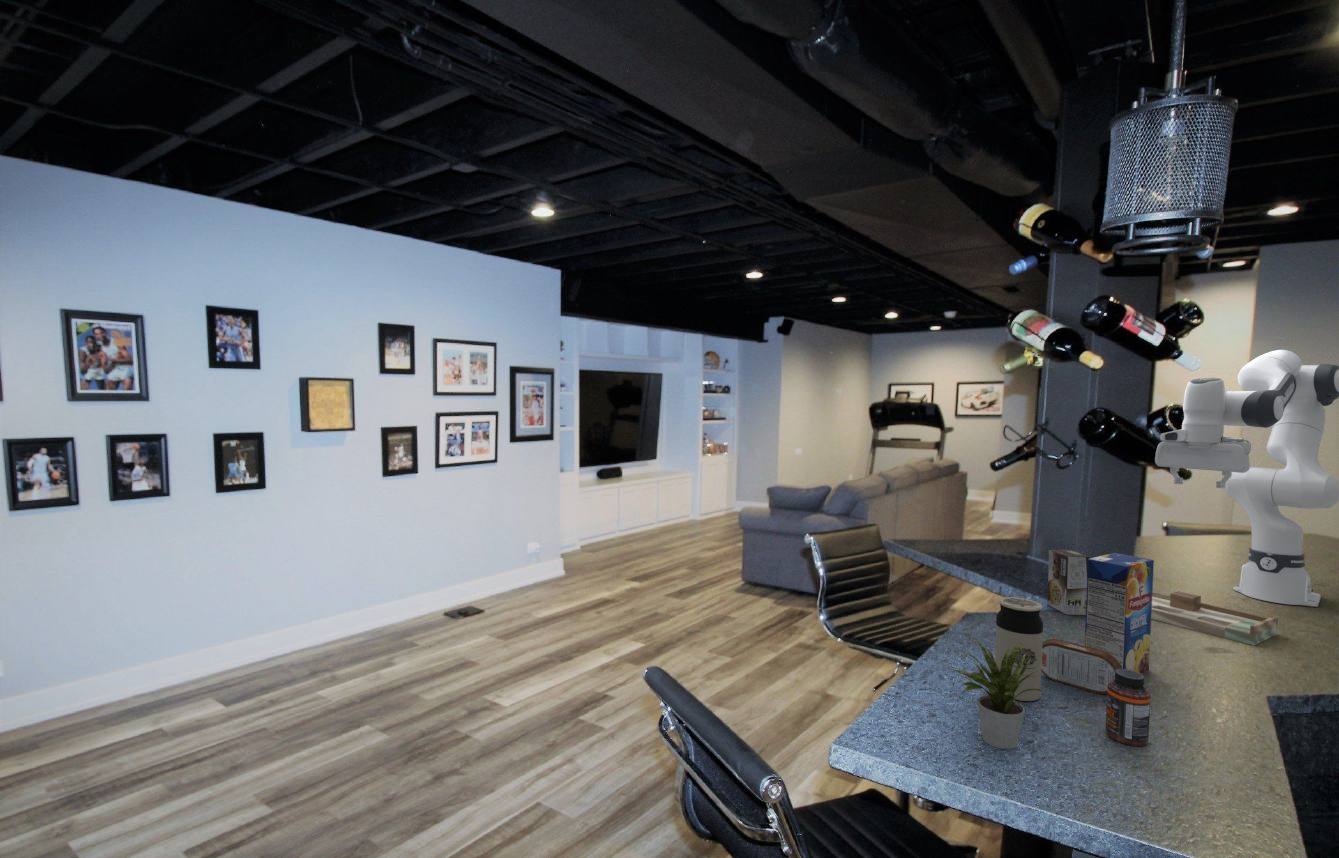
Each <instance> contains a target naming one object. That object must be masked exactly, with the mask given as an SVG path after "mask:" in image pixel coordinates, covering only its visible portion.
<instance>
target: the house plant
mask: <svg viewBox="0 0 1339 858" xmlns="http://www.w3.org/2000/svg"><path fill="white" fill-rule="evenodd" d="M972 640H974V642H976V644H977V645H978V646H979V648H980V649H981V651H982V653H983V656H984V659H985V662H986V664H987V665H988V668H989V669H988V668H987V667H986V666H984V665H983V664H982V662H980V660H979V659H977V658H976V657H975V656H974V655H972V654H970V653H969V652H966V651H963V650H958V649H954V648H952V650H953V651H954V650H955V651H958V652H960V653H962V654H963V653H964V654H965V655H962V654H960V655H961V656H962V657H965V658H968V659H970V660H972V659H971V658H973V659H974V661H973V664H974V666H975V667H976V669H977V670H978V671H973V672H968V671H965V670H958V669H954V671H955V672H956V673H958V674H959V675H958V674H957V676H958V677H962V678H964V679H967V680H968V681H966V682H964V683H962V684H961V686H959V687H962V686H966V687H965V689H964V690H963V693H965V691H970V690H977V689H979V690H980V691H981V692H982V693H983V694H984V695H980V696H979V697H977V700H976V701H977V707H978V708H977V709H978V715H979V724H980V731H981V739H982V740H983V741H984V742H985V743H986V744H988V745H990V746H992V747H994V748H997V749H1002V750H1012V749H1015V748H1017V745H1018V741H1019V737H1020V732H1021V728H1022V724H1023V720H1024V716H1025V712H1026V710H1025V707H1024V706H1023V705H1022V703H1021V701H1020V702H1018V701H1017V700H1014V699H1015V698H1016V697H1017V696H1018V695H1019V694H1021V693H1023V692H1025V691H1030V690H1038V691H1041V693H1044V691H1043V690H1042V689H1041V690H1040V689H1035V688H1034V689H1027V690H1024V691H1022V692H1020V693H1019V694H1018V695H1017V696H1016V697H1015V698H1014V693H1015V691H1016V690H1017V689H1018V688H1019V685H1020V683H1021V682H1022V681H1023V680H1025V679H1026V678H1028V677H1029V676H1030V675H1031V674H1033V673H1035V672H1033V673H1030V674H1029V675H1027V676H1026V677H1024V678H1023V679H1021V680H1020V681H1019V682H1018V680H1019V679H1020V677H1021V676H1022V674H1023V673H1024V671H1025V670H1026V668H1027V666H1028V664H1029V662H1030V660H1031V659H1030V660H1029V661H1028V662H1027V663H1026V664H1025V666H1024V667H1023V668H1022V670H1021V672H1020V673H1019V674H1017V673H1018V671H1019V669H1020V667H1021V666H1022V664H1023V661H1024V658H1025V655H1026V653H1025V654H1024V655H1023V657H1022V658H1021V660H1020V662H1019V664H1018V666H1017V667H1016V669H1015V671H1014V673H1013V675H1012V676H1011V673H1012V668H1013V664H1014V662H1015V659H1016V657H1017V655H1018V653H1019V651H1020V650H1021V649H1020V647H1021V646H1022V643H1021V644H1019V645H1017V646H1016V647H1015V648H1014V649H1013V650H1012V652H1011V653H1010V655H1009V656H1008V654H1009V649H1008V650H1007V651H1006V653H1005V655H1004V657H1003V659H1002V662H1001V668H1000V671H999V668H998V666H997V664H996V662H995V656H994V655H993V654H992V652H991V651H990V650H989V649H988V648H986V647H985V646H984V645H983V644H981V643H980V642H979V641H978V640H976V639H974V638H972ZM966 655H967V656H966ZM970 657H971V658H970ZM1038 671H1039V670H1038ZM984 672H985V673H984ZM1036 672H1037V671H1036ZM985 674H986V675H985ZM987 677H988V678H987ZM975 682H976V683H975ZM1017 682H1018V683H1017ZM983 686H984V687H983ZM985 688H986V689H985ZM982 689H983V690H982ZM984 691H985V692H986V693H987V694H986V693H984ZM1044 694H1045V693H1044ZM1045 695H1046V694H1045Z"/></svg>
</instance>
